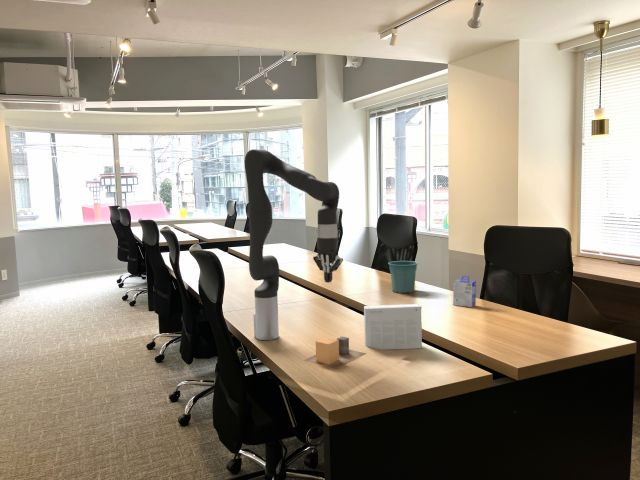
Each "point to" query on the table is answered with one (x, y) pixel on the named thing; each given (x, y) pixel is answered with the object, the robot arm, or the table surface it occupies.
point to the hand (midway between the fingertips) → (328, 282)
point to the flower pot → (403, 276)
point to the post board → (340, 355)
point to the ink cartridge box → (464, 292)
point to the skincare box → (393, 326)
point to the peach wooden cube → (327, 350)
